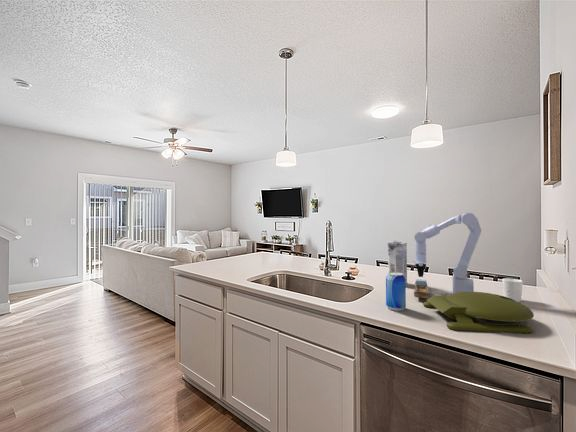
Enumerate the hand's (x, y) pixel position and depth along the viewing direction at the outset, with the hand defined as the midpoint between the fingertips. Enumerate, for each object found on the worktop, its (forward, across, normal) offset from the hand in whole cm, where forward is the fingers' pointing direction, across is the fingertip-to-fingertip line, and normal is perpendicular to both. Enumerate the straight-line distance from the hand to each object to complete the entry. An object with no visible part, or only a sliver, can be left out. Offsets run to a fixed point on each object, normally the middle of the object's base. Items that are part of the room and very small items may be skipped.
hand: (420, 276), depth 159 cm
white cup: (+8, +4, +41) cm, 42 cm away
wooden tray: (+8, +14, 0) cm, 15 cm away
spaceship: (+8, +38, +21) cm, 45 cm away
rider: (+4, +7, 0) cm, 8 cm away
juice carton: (+8, -10, -13) cm, 18 cm away
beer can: (+8, +40, -11) cm, 42 cm away
